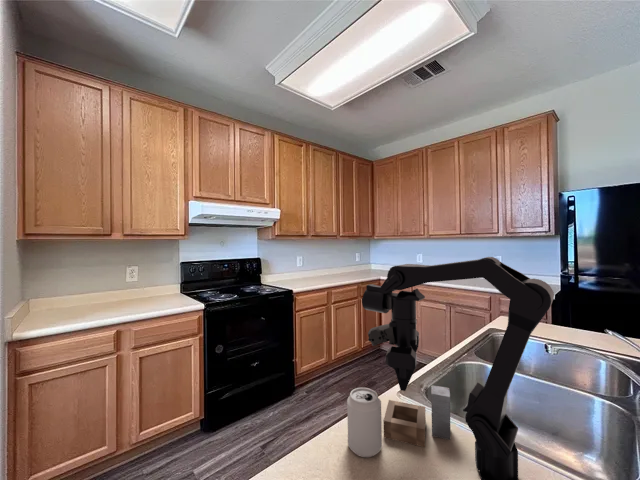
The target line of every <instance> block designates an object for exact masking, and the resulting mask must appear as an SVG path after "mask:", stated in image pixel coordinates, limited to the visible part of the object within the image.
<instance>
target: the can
mask: <svg viewBox="0 0 640 480" xmlns="http://www.w3.org/2000/svg"><path fill="white" fill-rule="evenodd" d="M349 393H350V394H349V396H348V397H347V399H346V403H347V404H346V405H347V407H346V408H347V409H346V410H347V411H346V413H347V445H348V447H349V449H350V450H351V451H352V452H353V453H355V455H357V456H358V457H362V458H371V457H374V456H375V455H377V454H378V453H380V451H381V449H382V446H383V438H382V437H383V436H382V432H383V430H382V428H383V427H382V401H381V399H380V398H379V395H378V393H377V392H376V391H375V390H374V389H372V388H369V387H356V388H354V389H352V390H351V391H350V392H349Z"/></svg>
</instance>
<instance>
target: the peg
mask: <svg viewBox="0 0 640 480" xmlns="http://www.w3.org/2000/svg"><path fill="white" fill-rule="evenodd" d="M430 387H431V389H430V390H431V391H430V393H431V394H430V395H431V397H430V399H431V437H435V438H440V439H444V440H449V441H451V439H452V438H451V437H452V436H451V431H452V430H451V393H450V392H451V391H450V388H449V387H446V386H438V385H431V386H430Z"/></svg>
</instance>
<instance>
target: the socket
mask: <svg viewBox="0 0 640 480" xmlns="http://www.w3.org/2000/svg"><path fill="white" fill-rule="evenodd" d="M426 423H427V422H426V406H424V405H417V404H413V403H408V402H403V401H397V400H391V399H388V402H387V406H386V409H385V414H384V417H383V438H384V439H388V440H393V441H396V442H401V443H405V444H410V445H414V446H418V447H421V448H426V447H425V445H426Z"/></svg>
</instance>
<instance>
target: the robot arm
mask: <svg viewBox="0 0 640 480" xmlns="http://www.w3.org/2000/svg"><path fill="white" fill-rule="evenodd" d="M482 278H483V279H484V280H486V281H487V282H488V283H489V284H491V286H493V287H494V288H495V289H496V290H498V291H499V293H501V294H502V295H504V296H505V297H506V298H508V299H509V305H508V312H507V313H508V314H507V315H508V316H507V326H506V329H505V331H504V334H503V337H502V339H501V342H500V343H499V348H498V350H497V353H496V355H495V358H494V359H493V362H492V366H491V367H490V368H491V369H490V371H489V373H488V376H487V378H486V381H485V383H484V385H482V384H481V382H480V383H479V382H478V381H477V382H476V383H475V385H474V387H473V388H472V389H471V391H470V392H469V394H468V399H467V400H468V401H467V403H466V405H465V406H464V407H463V409H462V411H463V412H465V417H464V419H465V423H466V424H467V426H468V428H469V429H470V430H471V431H472V434H473V436H474V440H475V442H474V451H475V452H474V456H475V457H474V462H475V466H476V469H477V471H478V472H479V475H480V477H479V478H480V480H519V450H518V448H517V446H516V443H515V441H516V437H517V434H518V431H519V427H518V426H517V424H515V422H513V420H512V418H511V417H509V415H508V414H507V413H506V412H507V405H508V394H509V390H510V386H511V385H512V382H513V379H514V377H515V374H516V372H517V370H518V367H519V364H520V361H521V359H522V356H523V354H524V352H525V349H526V347H527V344H528V343H529V339H530V337H531V335H532V333H533V331H534V330H535V329H536V328H537V327H538V325H539V324H540V322H541V321H542V320H543V318H544V317H545V316H546V314H547V312H548V311H549V309H550V308H551V306H552V304H553V301H554V298H555V292H554V290H553V288H552V287H551V285H549V284H548V283H547V282H546V281H544V280H542V279H539V278H538V279H537V278H531V277H529V276H527V275H525V274H523V273H522V272H521V271H518V270H516V269H514V268H512V267H510V266H509V265H506V264H505V263H504V262H502V261H500V259H498V258H496V257H493V256H486V257H482V258H479V259H473V260H472V259H471V260H464V261H456V262H455V261H454V262H447V263H442V264H441V263H439V264H433V265H429V264H427V265H426V264H417V263H405V264H399V265H394V266H392V267H390V268H389V270H388V271H387V276H386V279H385V280H384V281H383V282H382V285H376V284H373V283H372V284H367V285H366V286H365V287H366V288H365V290H364V292H363V296H362V298H361V305H362V307H363V309H364V310H366V311H370V312H371V311H372V312H376V313H382V314H388V313H389V312H390V310H391V320H390V321H389V323H385V324H381V325H378V326H374V327H372V328H370V329H369V331H368V332H367V336H368V339H367V341H368V342H370V343H371V345H372V347H373V346H378V345H379V344H383V343H387V342H388V345H391V346H390V347H389V348H388V349H387V352H386V353H385V364H386V365H387V366H388V367H390V368H392V369H393V370H394V372H395V374H396V375H395V376H396V379H397V382H398V386H399V390H400V391H403V392H405V391H406V390H407V387H408V385H409V383H410V380H411V378H412V376H413V375H414V372H415V370H416V369H417V352H418V348H419V343H420V332H419V331H418V330H417V323H418V320H417V302H420V301H423V300H425V299H426V296H425V295H424V294H423V293H421V291H420V290H419V289H418V288H415V289H413V290H411V291H408V290H406V289H410V288H413V287H416V286H419V285H420V286H421V285H424V284H428V283H437V282H449V281H457V280H458V281H459V280H469V279H470V280H471V279H472V280H473V279H482ZM395 291H399V292H397V293H395Z"/></svg>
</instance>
